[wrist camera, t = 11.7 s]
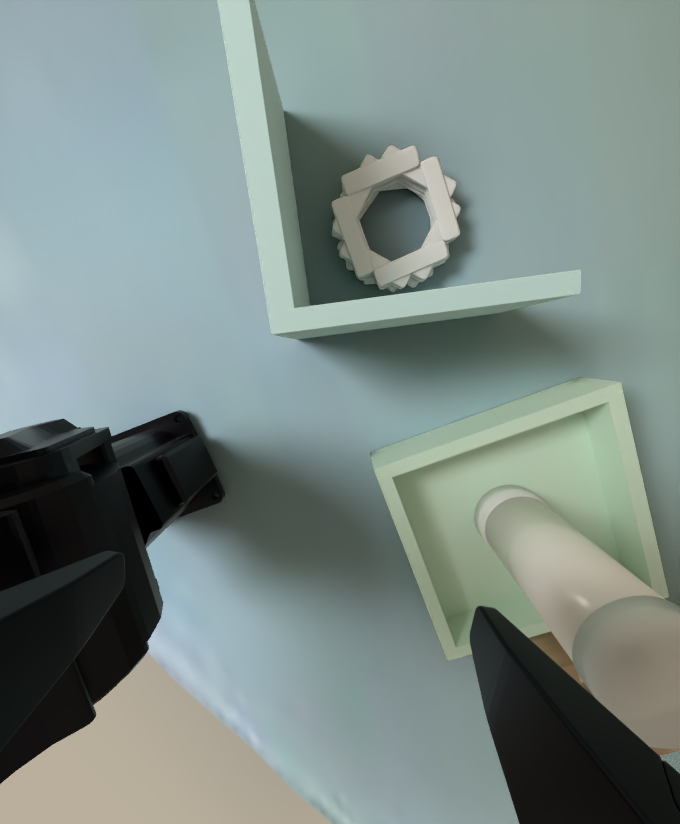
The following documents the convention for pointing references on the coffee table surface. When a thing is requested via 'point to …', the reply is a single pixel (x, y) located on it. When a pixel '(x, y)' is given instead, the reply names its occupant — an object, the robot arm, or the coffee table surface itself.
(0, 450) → the robot arm
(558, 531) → the ball
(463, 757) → the coffee table surface
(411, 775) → the coffee table surface
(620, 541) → the parts tray
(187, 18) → the coffee table surface
